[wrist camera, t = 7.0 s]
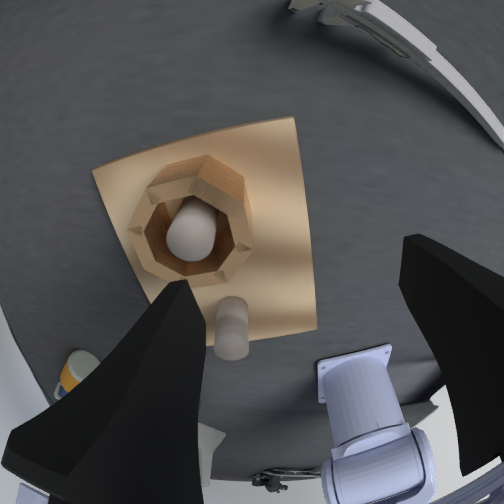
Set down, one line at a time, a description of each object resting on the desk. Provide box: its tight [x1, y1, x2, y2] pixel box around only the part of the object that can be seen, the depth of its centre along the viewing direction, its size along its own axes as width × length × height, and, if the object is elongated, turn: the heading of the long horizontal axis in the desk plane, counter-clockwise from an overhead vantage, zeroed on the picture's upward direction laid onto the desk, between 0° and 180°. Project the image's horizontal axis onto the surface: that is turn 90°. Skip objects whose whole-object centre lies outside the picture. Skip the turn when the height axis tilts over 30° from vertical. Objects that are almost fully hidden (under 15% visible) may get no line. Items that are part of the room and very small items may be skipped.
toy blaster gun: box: [54, 350, 200, 411], centre depth 28 cm, size 21×4×15 cm
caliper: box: [288, 0, 504, 150], centre depth 10 cm, size 20×1×6 cm, turn 72°
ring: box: [127, 154, 254, 289], centre depth 14 cm, size 6×6×4 cm
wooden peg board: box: [92, 116, 317, 360], centre depth 17 cm, size 16×12×5 cm
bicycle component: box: [252, 469, 321, 493], centre depth 52 cm, size 12×7×15 cm
